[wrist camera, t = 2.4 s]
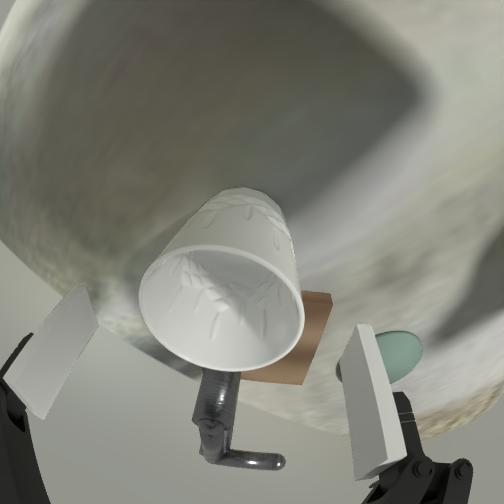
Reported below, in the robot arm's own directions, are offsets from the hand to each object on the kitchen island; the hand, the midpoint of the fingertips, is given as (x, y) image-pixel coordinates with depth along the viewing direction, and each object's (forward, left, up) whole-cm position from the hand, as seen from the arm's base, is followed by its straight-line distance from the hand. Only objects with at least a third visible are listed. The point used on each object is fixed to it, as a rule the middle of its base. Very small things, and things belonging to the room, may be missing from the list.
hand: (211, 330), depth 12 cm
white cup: (0, 0, -11) cm, 11 cm away
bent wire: (+10, +3, -9) cm, 14 cm away
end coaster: (+14, +17, -10) cm, 24 cm away
